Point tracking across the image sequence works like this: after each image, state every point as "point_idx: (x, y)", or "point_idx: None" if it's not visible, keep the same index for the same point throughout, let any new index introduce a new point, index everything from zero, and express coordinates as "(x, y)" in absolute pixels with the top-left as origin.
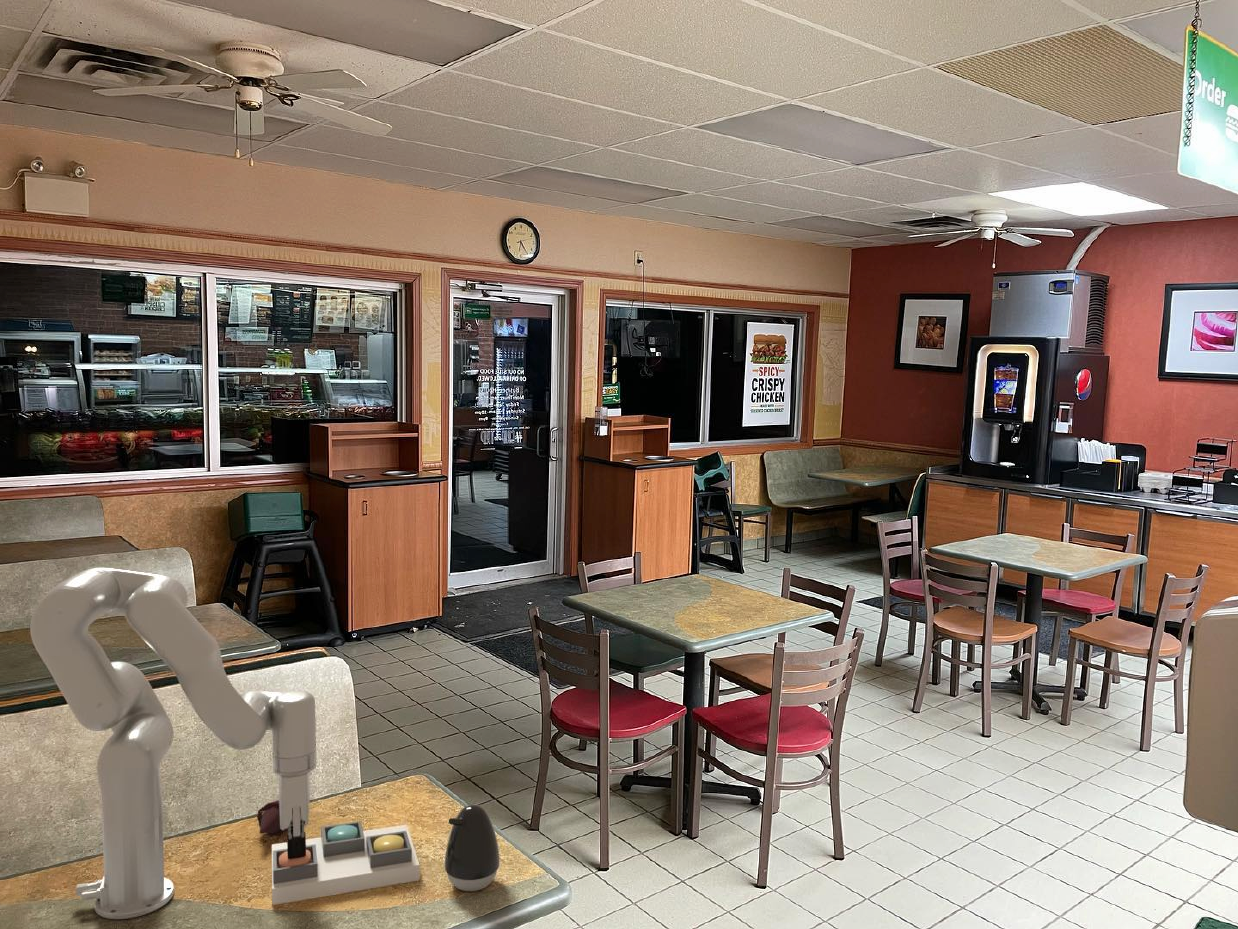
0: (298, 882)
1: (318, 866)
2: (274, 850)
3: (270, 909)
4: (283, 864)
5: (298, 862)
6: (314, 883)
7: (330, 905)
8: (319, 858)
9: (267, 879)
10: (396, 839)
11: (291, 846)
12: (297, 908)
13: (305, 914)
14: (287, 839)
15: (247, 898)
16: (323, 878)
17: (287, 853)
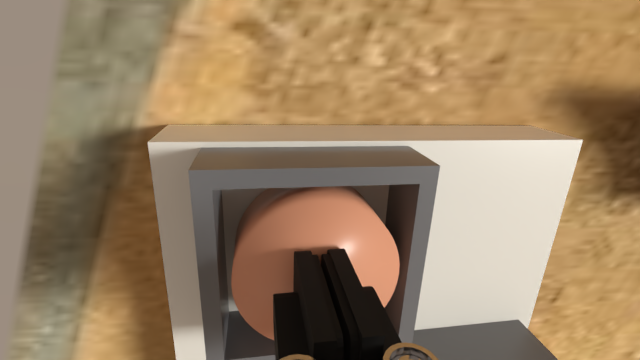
0: (184, 257)
1: None
2: (525, 151)
3: (137, 116)
4: (257, 223)
5: (239, 300)
6: (173, 312)
7: (119, 321)
8: None
9: (390, 107)
10: None
11: (302, 318)
12: (121, 218)
13: (67, 246)
14: (314, 339)
15: (261, 18)
16: (193, 346)
17: (364, 243)
